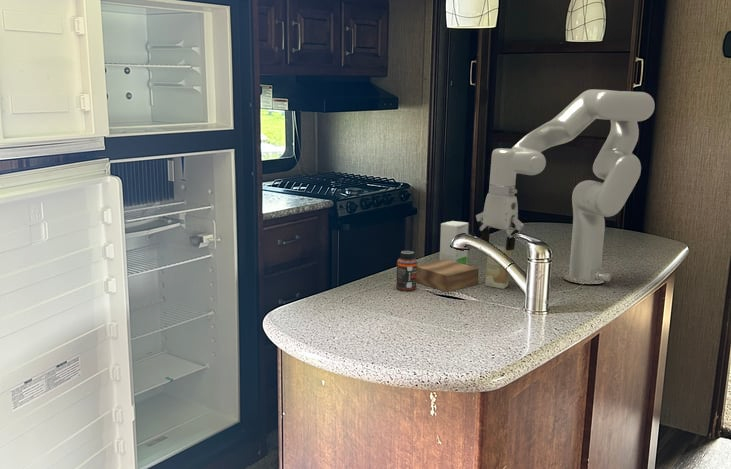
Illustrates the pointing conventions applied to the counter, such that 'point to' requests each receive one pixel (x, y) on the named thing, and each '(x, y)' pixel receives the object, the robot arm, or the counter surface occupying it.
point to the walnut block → (447, 275)
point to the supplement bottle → (406, 271)
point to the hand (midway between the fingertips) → (497, 246)
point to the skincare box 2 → (497, 272)
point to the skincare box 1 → (447, 235)
